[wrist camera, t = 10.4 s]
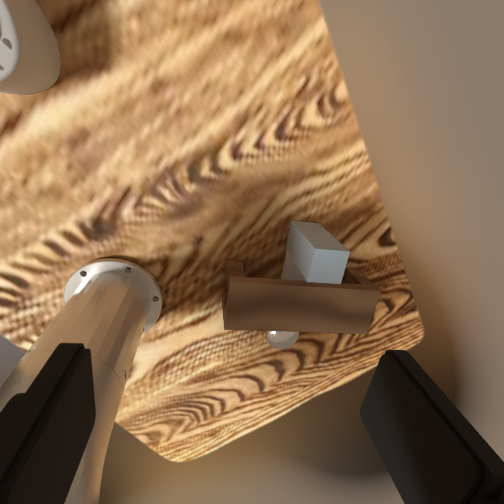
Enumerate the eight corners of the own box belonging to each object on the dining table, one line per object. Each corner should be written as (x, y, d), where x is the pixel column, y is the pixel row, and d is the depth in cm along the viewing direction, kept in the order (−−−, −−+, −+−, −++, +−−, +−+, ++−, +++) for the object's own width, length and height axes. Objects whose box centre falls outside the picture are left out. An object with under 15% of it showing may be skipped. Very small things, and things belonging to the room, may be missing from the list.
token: (298, 338, 49) (300, 344, 47) (268, 345, 49) (270, 352, 47) (294, 314, 47) (296, 319, 45) (263, 321, 46) (265, 327, 45)
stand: (346, 307, 47) (366, 334, 41) (222, 301, 44) (224, 329, 38) (358, 268, 45) (381, 291, 39) (227, 259, 41) (230, 281, 35)
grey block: (290, 220, 40) (315, 248, 31) (318, 223, 41) (350, 251, 32) (271, 317, 46) (286, 365, 37) (295, 318, 47) (316, 365, 38)
